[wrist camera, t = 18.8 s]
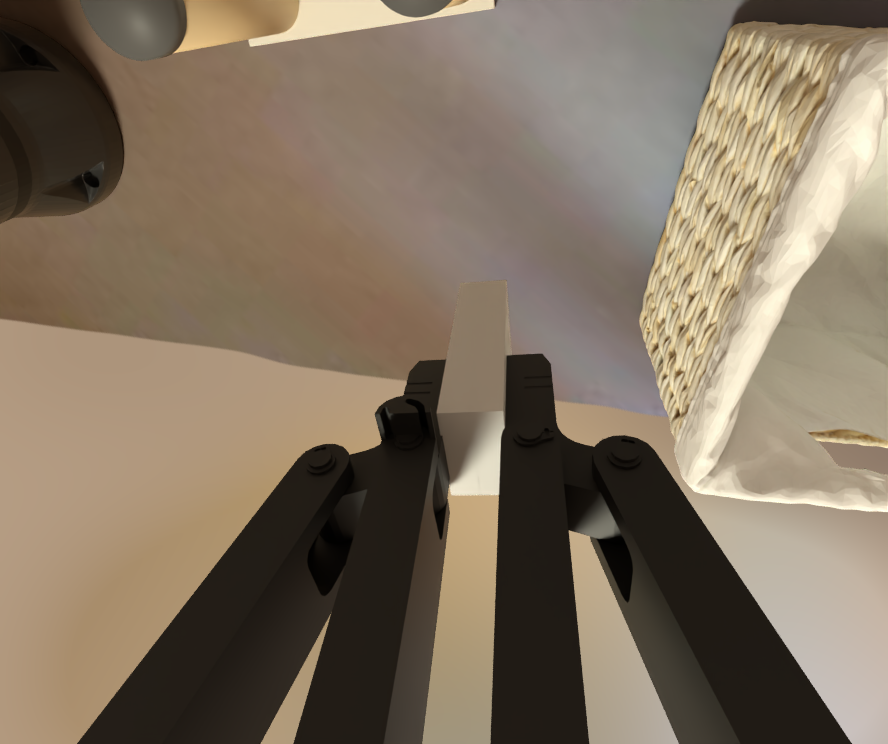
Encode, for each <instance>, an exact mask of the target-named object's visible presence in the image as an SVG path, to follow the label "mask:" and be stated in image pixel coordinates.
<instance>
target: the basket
mask: <svg viewBox="0 0 888 744" xmlns="http://www.w3.org/2000/svg"><path fill="white" fill-rule="evenodd" d="M639 321H640V326H641V329H642V332H643V339H644V341H645V343H646V348H647V349H648V354H649V356H650V357H651V361H652V364H653V366H654V370H655V372H656V380H657V385H658V387H659V389H660V397H661V399H662V400H663V404H664V407H665V410H666V411H667V413H668V415H669V421H670V423H671V424H670V428H671V432H672V434H673V435H674V438H675V441H676V444H675V447H674V451H675V455H676V460H677V462H678V465H679V468H680V473H681V475H682V478H683V479H684V480H685V482H686V483H687V484H688V485H689V486H690V487H691V488H692V489H693V491H694V492H698V493H702V494H712V495H717V496H723V497H733V498H739V499H745V500H754V501H768V502H778V503H789V504H790V503H791V504H796V503H808V504H814V505H818V506H827V507H834V508H838V509H856V510H863V511H881V512H888V475H884V474H880V473H877V472H874V471H870V470H868V469H862V470H861V469H854V468H842V467H840V466H839V465H837V464H836V463H835V462H834V461H833V459H832V458H831V456H830V455H829V454H828V452H827V451H826V450H825V449H824V448H823V446H822V445H821V444H820V443H819V442H818V441H822V442H826V441H830V442H838V443H844V444H848V443H851V444H859V445H864V446H867V445H869V446H880V447H885V448H888V28H881V27H879V28H871V27H867V28H852V27H843V26H834V25H833V26H829V25H817V24H805V25H794V24H785V25H778V24H777V23H776V22H756V21H752V22H745V23H739V24H736V25H734V26H733V27H731V28H730V30H729V32H728V34H727V39H726V43H725V46H724V49H723V51H722V53H721V56H720V58H719V60H718V62H717V64H716V66H715V69H714V71H713V75H712V79H711V83H710V89H709V91H708V93H707V95H706V98H705V100H704V102H703V105H702V107H701V110H700V112H699V116H698V120H697V128H696V131H695V134H694V136H693V138H692V140H691V142H690V145H689V147H688V150H687V153H686V158H685V164H684V168H683V170H682V172H681V175H680V177H679V180H678V182H677V185H676V190H675V199H674V201H673V203H672V205H671V207H670V210H669V213H668V216H667V220H666V227H665V229H664V232H663V234H662V237H661V240H660V242H659V245H658V248H657V252H656V256H655V262H654V264H653V266H652V269H651V272H650V275H649V279H648V285H647V288H646V291H645V294H644V297H643V308H642V311H641V314H640V318H639Z"/></svg>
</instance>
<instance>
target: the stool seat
mask: <svg viewBox="0 0 888 744" xmlns="http://www.w3.org/2000/svg"><path fill="white" fill-rule="evenodd" d="M80 2H81V6H82V8H83V11H84V14H85V16H86V18H87V20H88V22H89V23H90V25H91V27H92V28H93V30H94V31H95V32H96V34H97V35H98V36H99V37H100V38H101V40H102V41H103V42H104V43H105V44H106V45H108V46H109V47H110V48H111V49H112V50H114V51H115V52H117V53H118V54H120V55H122V56H124V57H127V58H129V59H133V60H138V61H147V60H152V59H158V58H163V57H167V56H169V55H171V54H172V53H177V52H182V51H187V50H193V49H198V48H204V47H209V46H215V45H220V44H226V43H231V42H237V41H242V40H248V41H249V44H250V47H252V46H258V45H264V44H271V43H277V42H284V41H290V40H296V39H303V38H309V37H315V36H322V35H328V34H334V33H341V32H347V31H354V30H360V29H366V28H373V27H379V26H385V25H392V24H398V23H404V22H411V21H417V20H423V19H430V18H436V17H443V16H449V15H455V14H462V13H468V12H474V11H481V10H487V9H493V8H495V0H80Z"/></svg>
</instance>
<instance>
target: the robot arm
mask: <svg viewBox="0 0 888 744" xmlns="http://www.w3.org/2000/svg"><path fill="white" fill-rule="evenodd" d="M122 166H123V147H122V140H121V135H120V131H119V128H118V125H117V122H116V119H115V117H114V114H113V112H112V110H111V107H110V105H109V103H108V102H107V100H106V98H105V96H104V94H103V93H102V91H101V90H100V88H99V87H98V85H97V84H96V82H95V81H94V80H93V78H92V77H91V76H90V74H89V73H88V72H87V71H86V70H85V68H84V67H83V66H82V65H81V64H80V63H79V62H78V61H77V60H76V59H75V58H74V57H73V56H72V55H71V54H70V53H69V52H68V51H67V50H65V49H64V48H63V47H62V46H60V45H59V44H58V43H57V42H55V41H54V40H52V39H51V38H49V37H48V36H46V35H45V34H43V33H41V32H40V31H38V30H36V29H34V28H32V27H30V26H27V25H25V24H23V23H20V22H17V21H14V20H9V19H5V18H0V224H1V223H3V222H5V221H7V220H10V219H12V218H17V217H43V216H65V215H71V214H75V213H79V212H81V211H84V210H86V209H88V208H90V207H92V206H94V205H96V204H98V203H100V202H101V201H103V200H104V199H106V198H107V197H108V196H109V195H110V194H111V193H112V192H113V190H114V189H115V187H116V185H117V183H118V181H119V179H120V176H121V172H122ZM375 417H376V421H377V424H378V428H379V432H380V436H381V440H382V441H381V444H380V445H378V446H376V447H375V448H372V449H369V450H366V451H363V452H359V453H355V454H351V455H349V453H348V452H347V450H346V449H345V448H344V447H342V446H339V445H336V444H323V445H320V446H316V447H314V448H312V449H310V450H308V451H306V452H305V453H304V454H303V455H302V456H301V457H299V458H298V459H297V461H296V462H295V463H294V465H293V466H292V467H291V468H290V470H289V471H288V472H287V474H286V475H285V476H284V477H283V479H282V480H281V481H280V483H279V484H278V485H277V486H276V488H275V489H274V490H273V492H272V493H271V494H270V496H269V497H268V498H267V499H266V501H265V502H264V503H263V505H262V506H261V507H260V508H259V510H258V511H257V513H256V514H255V515H254V516H253V517H252V519H251V520H250V521H249V523H248V524H247V525H246V526H245V528H244V529H243V530H242V532H241V533H240V534H239V536H238V537H237V538H236V540H235V541H234V542H233V543H232V545H231V546H230V547H229V548H228V550H227V551H226V552H225V554H224V555H223V556H222V557H221V559H220V560H219V561H218V563H217V564H216V565H215V566H214V568H213V569H212V570H211V572H210V573H209V574H208V576H207V577H206V578H205V580H204V581H203V582H202V583H201V585H200V586H199V587H198V589H197V590H196V591H195V592H194V594H193V595H192V596H191V598H190V599H189V600H188V601H187V603H186V604H185V605H184V606H183V608H182V609H181V610H180V612H179V613H178V614H177V615H176V617H175V618H174V619H173V621H172V622H171V623H170V625H169V626H168V627H167V628H166V630H165V631H164V632H163V634H162V635H161V636H160V637H159V639H158V640H157V641H156V643H155V644H154V645H153V646H152V648H151V649H150V650H149V652H148V653H147V654H146V656H145V657H144V658H143V660H142V661H141V662H140V663H139V665H138V666H137V667H136V668H135V670H134V671H133V673H132V674H131V675H130V676H129V678H128V679H127V680H126V681H125V683H124V684H123V685H122V686H121V688H120V689H119V690H118V692H117V693H116V694H115V696H114V697H113V698H112V699H111V701H110V702H109V703H108V705H107V706H106V707H105V708H104V710H103V711H102V712H101V714H100V715H99V716H98V717H97V719H96V720H95V721H94V723H93V724H92V725H91V727H90V728H89V729H88V730H87V732H86V733H85V734H84V735H83V737H82V738H81V739H80V741H79V742H78V743H77V744H260V743H261V742H262V740H263V738H264V736H265V734H266V732H267V730H268V729H269V727H270V725H271V723H272V721H273V719H274V718H275V715H276V714H277V712H278V710H279V708H280V706H281V705H282V703H283V701H284V699H285V697H286V695H287V694H288V692H289V690H290V688H291V686H292V684H293V682H294V681H295V679H296V677H297V675H298V673H299V671H300V669H301V668H302V666H303V664H304V662H305V660H306V658H307V656H308V655H309V653H310V651H311V649H312V647H313V645H314V644H315V642H316V640H317V638H318V636H319V634H320V632H321V630H322V628H323V626H324V625H325V623H326V621H327V619H328V617H329V615H330V614H331V616H330V620H329V623H328V627H327V630H326V634H325V637H324V641H323V644H322V647H321V651H320V655H319V658H318V661H317V665H316V668H315V671H314V675H313V679H312V682H311V685H310V689H309V693H308V696H307V699H306V702H305V706H304V709H303V713H302V716H301V720H300V723H299V727H298V730H297V733H296V737H295V740H294V744H422V739H423V731H424V723H425V714H426V706H427V697H428V689H429V681H430V672H431V664H432V656H433V648H434V639H435V631H436V623H437V614H438V606H439V597H440V589H441V581H442V573H443V564H444V555H445V548H446V539H447V531H448V523H449V514H450V511H449V504H448V499H447V496H448V488H449V485H450V490H451V495H499V509H498V540H497V570H496V599H495V628H494V659H493V688H492V690H493V691H492V717H491V718H492V719H491V744H589V738H588V727H587V716H586V706H585V696H584V685H583V676H582V665H581V655H580V645H579V634H578V625H577V613H576V603H575V594H574V584H573V583H574V582H573V572H572V562H571V552H570V542H569V531H568V530H570V531H574V532H577V533H581V534H584V535H587V536H590V539H591V542H592V544H593V547H594V549H595V551H596V554H597V556H598V558H599V561H600V563H601V565H602V567H603V570H604V572H605V574H606V576H607V579H608V581H609V584H610V586H611V588H612V590H613V593H614V595H615V597H616V600H617V602H618V604H619V607H620V609H621V611H622V613H623V616H624V618H625V620H626V623H627V625H628V627H629V630H630V632H631V634H632V636H633V639H634V641H635V643H636V646H637V648H638V650H639V653H640V655H641V657H642V659H643V662H644V664H645V666H646V668H647V671H648V673H649V676H650V678H651V680H652V682H653V685H654V687H655V689H656V692H657V694H658V696H659V699H660V701H661V703H662V705H663V708H664V710H665V712H666V715H667V717H668V719H669V721H670V724H671V726H672V728H673V731H674V733H675V735H676V738H677V740H678V742H679V744H852V743H851V742H850V740H849V739H848V737H847V736H846V735H845V733H844V731H843V730H842V728H841V727H840V725H839V724H838V722H837V721H836V719H835V718H834V716H833V715H832V713H831V712H830V711H829V709H828V708H827V706H826V705H825V703H824V702H823V700H822V699H821V697H820V696H819V694H818V693H817V691H816V690H815V688H814V687H813V685H812V684H811V682H810V681H809V679H808V678H807V676H806V675H805V673H804V672H803V670H802V669H801V667H800V666H799V664H798V663H797V661H796V660H795V659H794V657H793V656H792V654H791V653H790V651H789V650H788V648H787V647H786V645H785V644H784V642H783V641H782V639H781V638H780V636H779V635H778V634H777V632H776V631H775V629H774V627H773V626H772V624H771V623H770V621H769V620H768V619H767V617H766V615H765V614H764V613H763V611H762V610H761V608H760V606H759V605H758V603H757V602H756V601H755V599H754V597H753V596H752V594H751V593H750V592H749V590H748V589H747V587H746V586H745V584H744V583H743V581H742V580H741V578H740V577H739V575H738V574H737V572H736V571H735V569H734V568H733V566H732V565H731V563H730V562H729V560H728V559H727V557H726V556H725V555H724V553H723V551H722V550H721V548H720V547H719V545H718V544H717V543H716V541H715V540H714V538H713V537H712V535H711V534H710V532H709V531H708V529H707V528H706V526H705V525H704V523H703V522H702V520H701V519H700V517H699V516H698V514H697V513H696V511H695V510H694V508H693V507H692V505H691V504H690V502H689V501H688V500H687V498H686V496H685V495H684V493H683V492H682V490H681V489H680V487H679V486H678V484H677V483H676V482H675V480H674V479H673V477H672V476H671V474H670V473H669V471H668V470H667V468H666V467H665V465H664V464H663V462H662V461H661V459H660V458H659V456H658V455H657V453H656V452H655V450H654V449H653V448H652V447H651V446H650V445H649V444H647V443H646V442H644V441H642V440H640V439H638V438H634V437H629V436H625V435H624V436H612V437H608V438H606V439H603V440H602V441H600V442H599V443H598V444H597V445H596V446H595V447H593V446H588V445H583V444H580V443H577V442H574V441H572V440H570V439H568V438H567V437H566V436H564V435H563V434H562V433H561V431H560V430H559V429H558V426H557V423H556V413H555V403H554V393H553V383H552V372H551V364H550V362H549V361H548V360H547V359H546V358H545V357H544V355H543V354H525V355H511V337H510V323H509V308H508V294H507V280H499V281H485V282H471V283H460V288H459V293H458V299H457V304H456V310H455V315H454V321H453V326H452V331H451V337H450V342H449V348H448V353H447V359H446V360H428V361H419V362H418V363H417V364H416V365H415V366H414V367H413V369H412V370H411V371H410V373H409V376H408V380H407V385H406V387H405V391H404V395H403V396H400V397H396V398H393V399H390V400H388V401H386V402H385V403H383V404H382V405H381V406H380V407H379V408H378V409H377V411H376V413H375ZM331 612H332V613H331Z"/></svg>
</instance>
